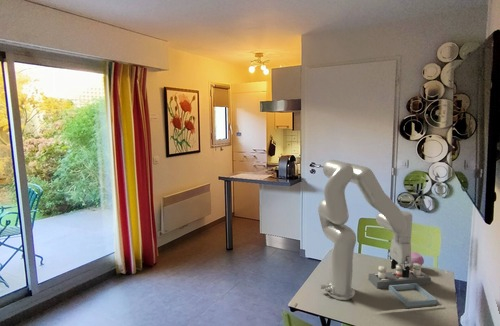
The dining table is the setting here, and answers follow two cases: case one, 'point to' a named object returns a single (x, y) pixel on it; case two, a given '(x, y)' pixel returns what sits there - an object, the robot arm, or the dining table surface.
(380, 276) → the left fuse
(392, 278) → the fuse holder
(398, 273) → the cylinder
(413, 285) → the tray
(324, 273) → the dining table surface
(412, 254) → the cupcake
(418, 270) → the right fuse
